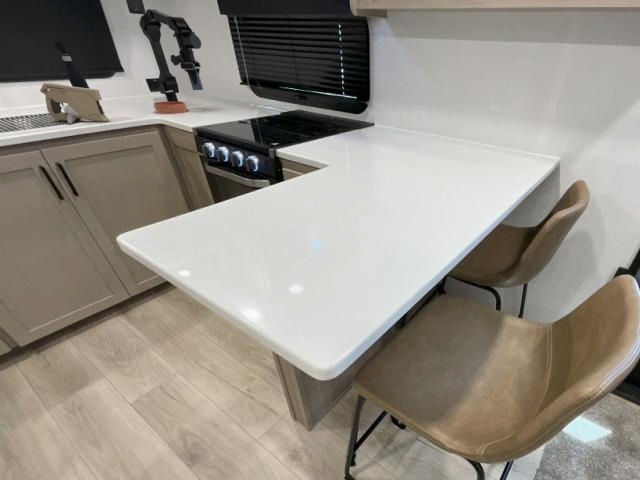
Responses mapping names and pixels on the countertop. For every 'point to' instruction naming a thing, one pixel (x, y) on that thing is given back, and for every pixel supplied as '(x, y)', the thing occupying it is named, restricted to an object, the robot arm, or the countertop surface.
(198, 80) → the block
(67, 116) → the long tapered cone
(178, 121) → the countertop surface
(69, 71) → the wine bottle
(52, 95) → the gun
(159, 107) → the bowl
